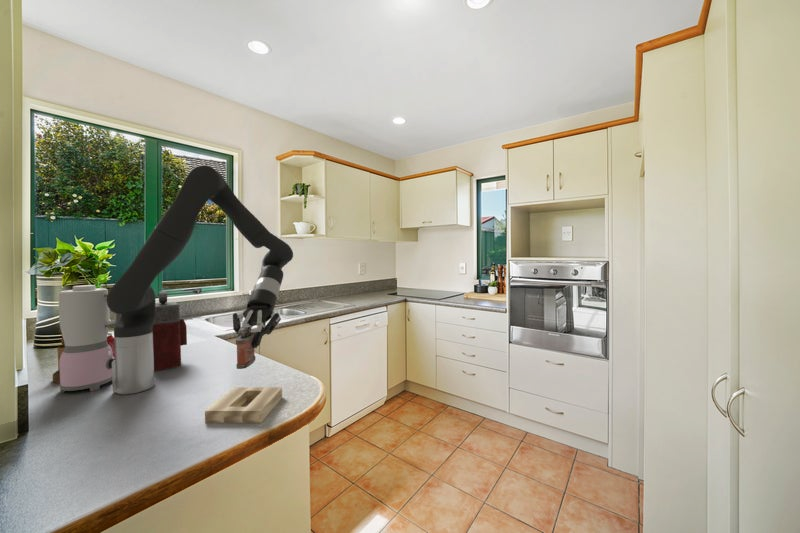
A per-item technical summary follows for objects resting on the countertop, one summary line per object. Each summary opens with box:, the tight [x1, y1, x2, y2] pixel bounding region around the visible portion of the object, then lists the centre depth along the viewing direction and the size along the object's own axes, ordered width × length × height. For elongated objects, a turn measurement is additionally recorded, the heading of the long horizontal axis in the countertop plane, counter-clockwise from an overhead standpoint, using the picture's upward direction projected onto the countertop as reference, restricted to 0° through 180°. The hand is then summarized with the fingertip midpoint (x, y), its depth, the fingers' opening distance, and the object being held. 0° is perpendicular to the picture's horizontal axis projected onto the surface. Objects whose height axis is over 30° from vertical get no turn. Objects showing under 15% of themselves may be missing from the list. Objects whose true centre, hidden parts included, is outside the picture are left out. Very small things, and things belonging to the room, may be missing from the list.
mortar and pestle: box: [52, 327, 65, 383], centre depth 108 cm, size 7×6×18 cm
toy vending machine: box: [153, 290, 188, 372], centre depth 121 cm, size 9×11×28 cm
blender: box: [58, 284, 121, 394], centre depth 102 cm, size 16×12×32 cm
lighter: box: [235, 326, 256, 370], centre depth 86 cm, size 8×3×10 cm, turn 5°
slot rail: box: [204, 386, 283, 424], centre depth 87 cm, size 14×14×3 cm
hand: (246, 346), depth 87 cm, fingers closed on lighter, 3 cm apart
